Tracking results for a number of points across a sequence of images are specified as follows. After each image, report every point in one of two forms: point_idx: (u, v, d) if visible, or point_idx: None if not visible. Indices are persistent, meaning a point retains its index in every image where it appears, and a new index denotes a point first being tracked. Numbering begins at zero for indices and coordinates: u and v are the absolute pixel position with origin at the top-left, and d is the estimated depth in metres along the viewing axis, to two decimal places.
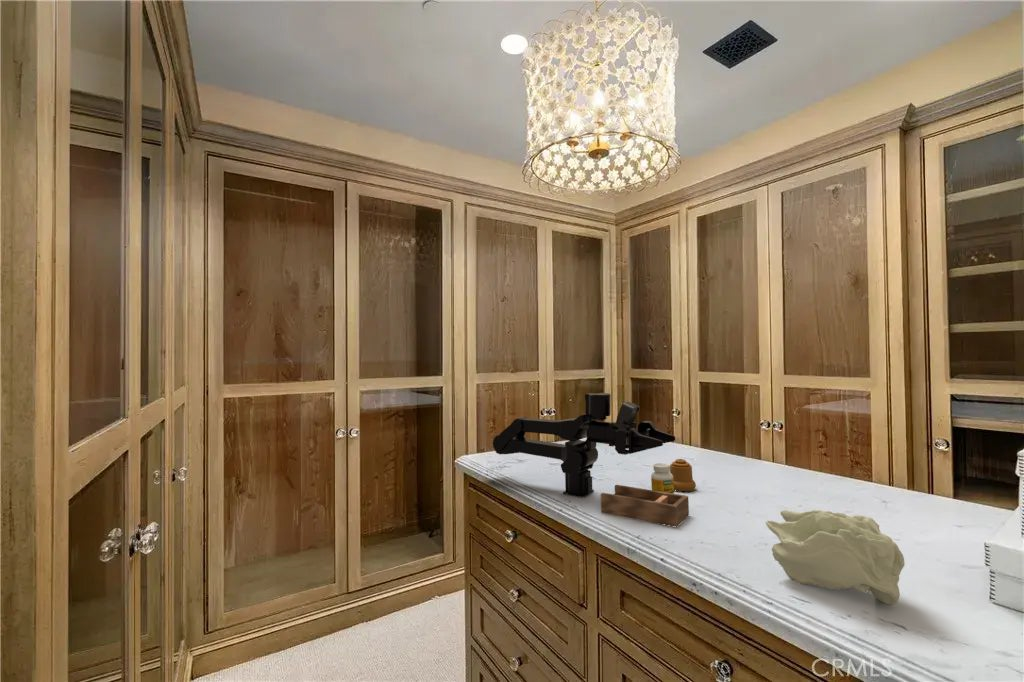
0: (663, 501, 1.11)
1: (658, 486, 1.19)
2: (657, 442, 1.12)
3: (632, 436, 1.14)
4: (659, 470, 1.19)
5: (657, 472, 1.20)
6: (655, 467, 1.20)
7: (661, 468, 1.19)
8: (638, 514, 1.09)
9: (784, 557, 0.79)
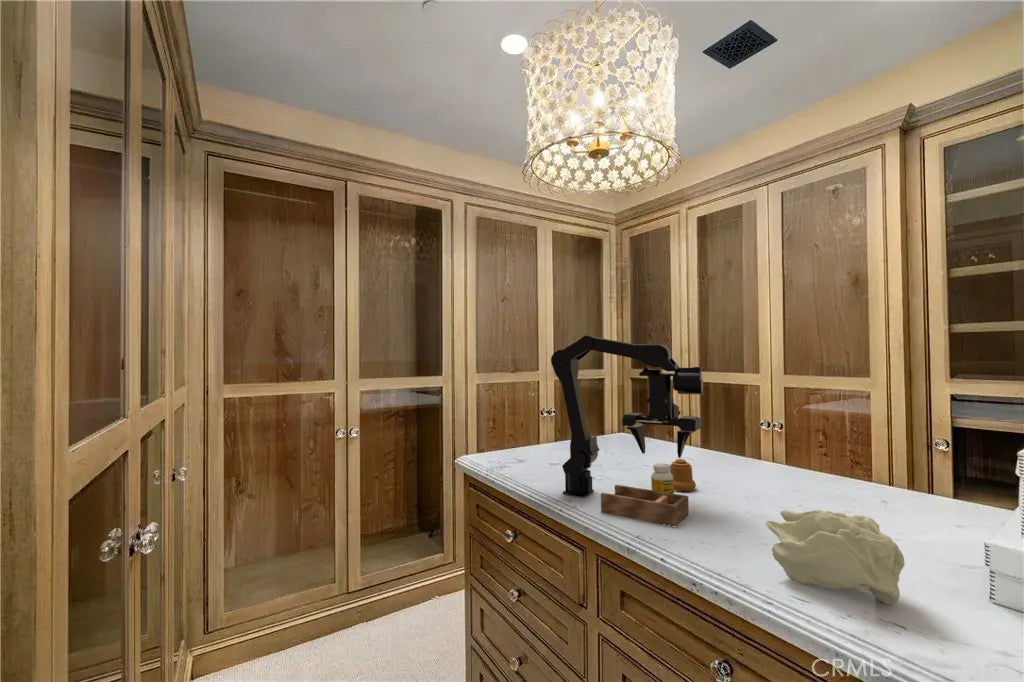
0: (663, 501, 1.11)
1: (658, 486, 1.19)
2: (681, 453, 1.18)
3: None
4: (659, 470, 1.19)
5: (657, 472, 1.20)
6: (655, 467, 1.20)
7: (661, 468, 1.19)
8: (638, 514, 1.09)
9: (784, 557, 0.79)
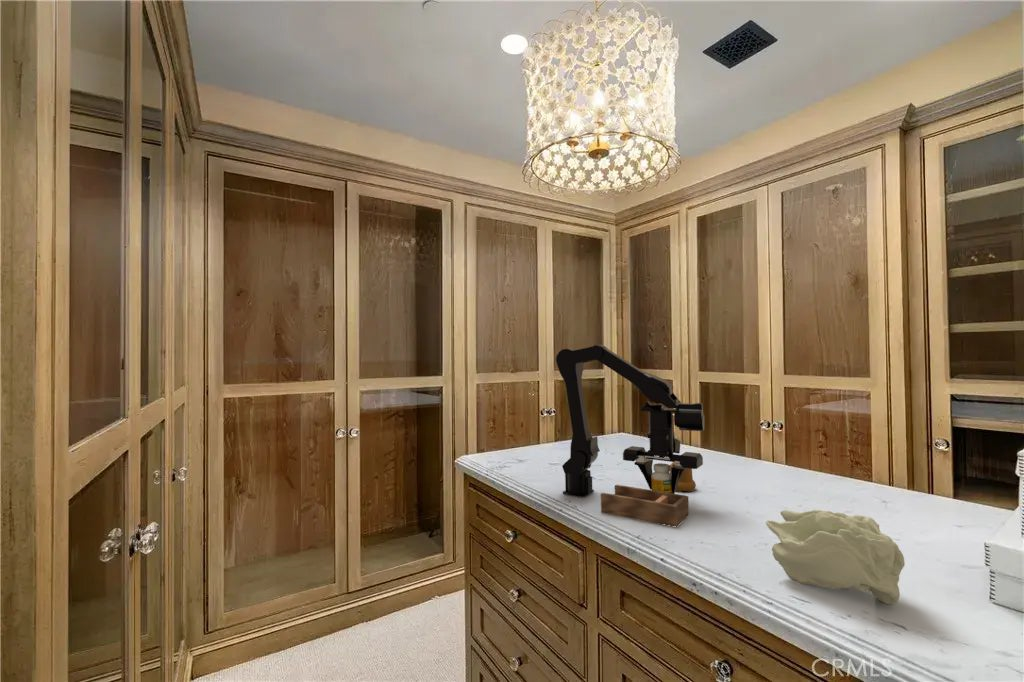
0: (663, 501, 1.11)
1: (658, 486, 1.19)
2: (676, 488, 1.19)
3: None
4: (659, 470, 1.19)
5: (657, 472, 1.20)
6: (655, 467, 1.20)
7: (661, 468, 1.19)
8: (638, 514, 1.09)
9: (784, 557, 0.79)
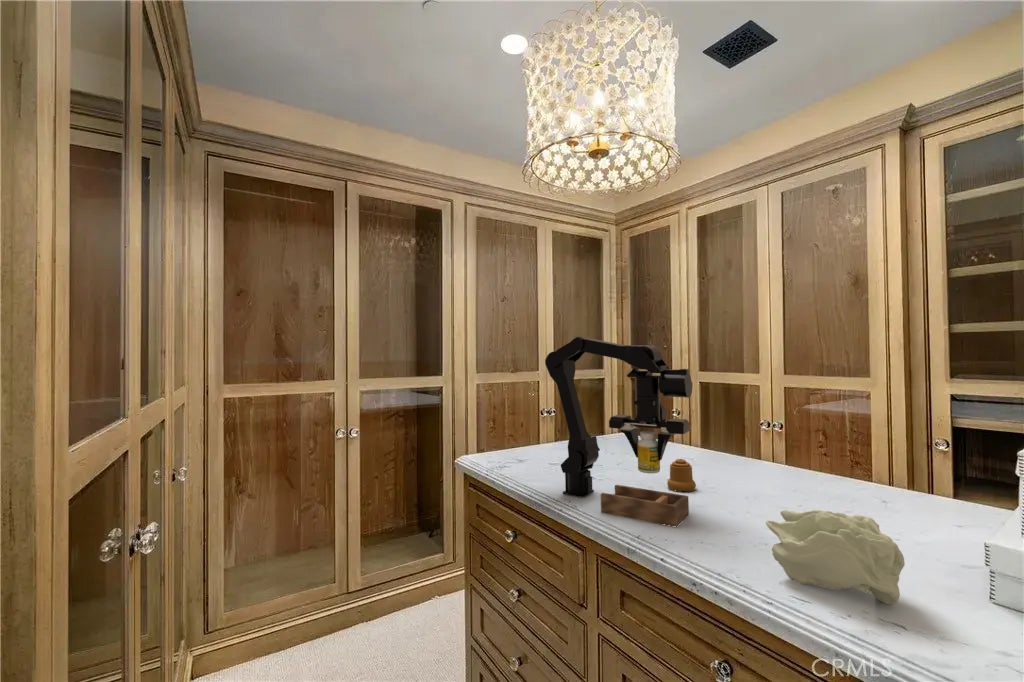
0: (663, 501, 1.11)
1: (644, 453, 1.17)
2: (662, 455, 1.17)
3: None
4: (646, 437, 1.17)
5: (644, 439, 1.18)
6: (642, 434, 1.18)
7: (648, 435, 1.17)
8: (638, 514, 1.09)
9: (784, 557, 0.79)
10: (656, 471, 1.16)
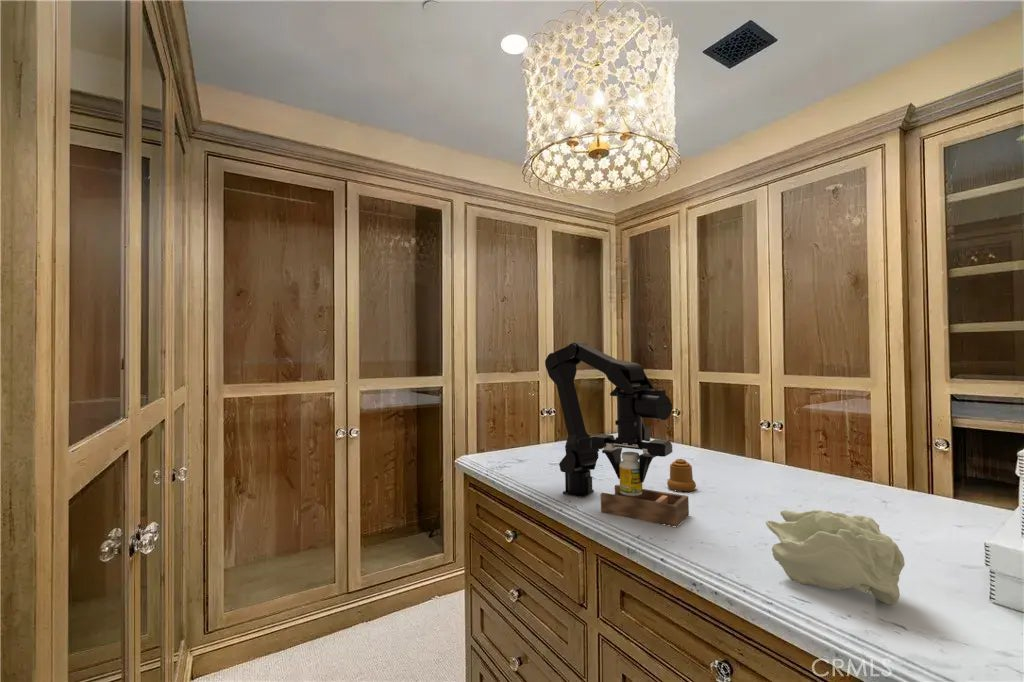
0: (663, 501, 1.11)
1: (625, 475, 1.13)
2: (644, 477, 1.13)
3: None
4: (627, 458, 1.14)
5: (625, 460, 1.14)
6: (623, 455, 1.15)
7: (629, 456, 1.13)
8: (638, 514, 1.09)
9: (784, 557, 0.79)
10: (638, 494, 1.13)
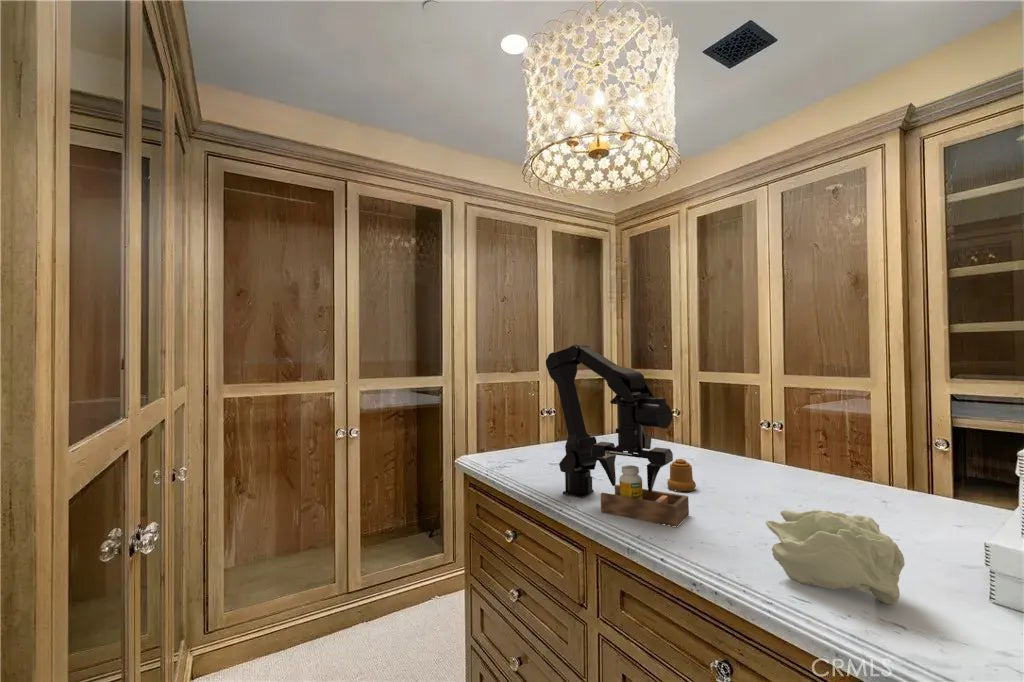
0: (663, 501, 1.11)
1: (625, 489, 1.13)
2: (652, 487, 1.12)
3: None
4: (627, 472, 1.14)
5: (625, 474, 1.14)
6: (623, 469, 1.15)
7: (629, 470, 1.14)
8: (638, 514, 1.09)
9: (784, 557, 0.79)
10: None
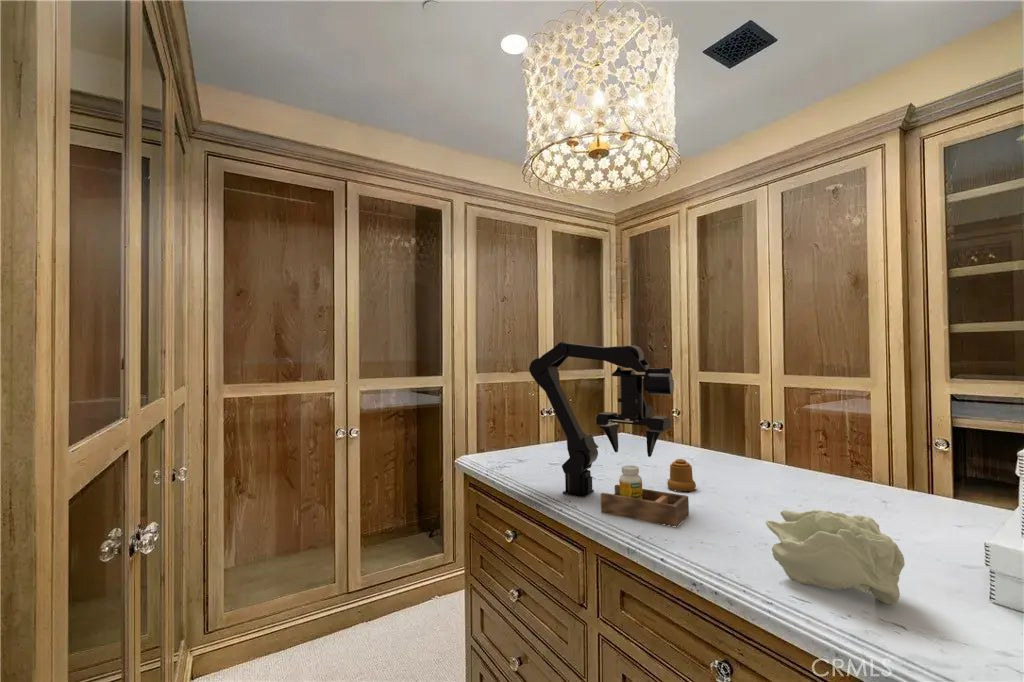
0: (663, 501, 1.11)
1: (625, 489, 1.13)
2: (651, 452, 1.20)
3: None
4: (627, 472, 1.14)
5: (625, 475, 1.14)
6: (623, 469, 1.15)
7: (629, 470, 1.14)
8: (638, 514, 1.09)
9: (784, 557, 0.79)
10: None
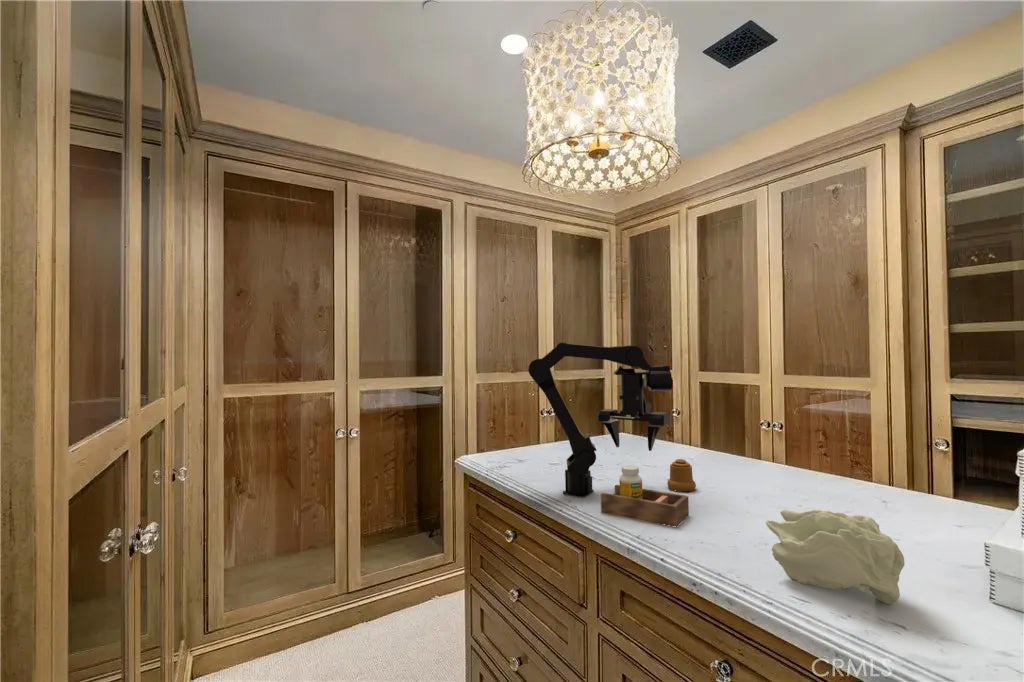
0: (663, 501, 1.11)
1: (625, 489, 1.13)
2: (652, 446, 1.27)
3: None
4: (627, 472, 1.14)
5: (625, 475, 1.14)
6: (623, 469, 1.15)
7: (629, 470, 1.14)
8: (638, 514, 1.09)
9: (784, 557, 0.79)
10: None
